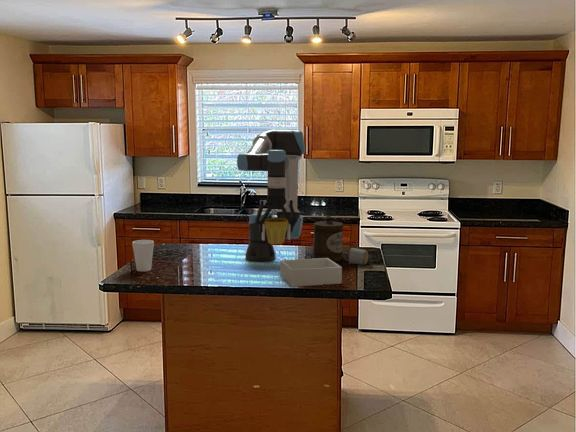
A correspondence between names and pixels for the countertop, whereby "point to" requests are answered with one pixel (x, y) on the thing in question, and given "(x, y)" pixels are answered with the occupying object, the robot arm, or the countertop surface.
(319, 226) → the wooden container
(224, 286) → the countertop surface
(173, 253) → the countertop surface
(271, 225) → the plant pot
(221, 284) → the countertop surface
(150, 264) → the foam cup
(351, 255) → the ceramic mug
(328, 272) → the crate
